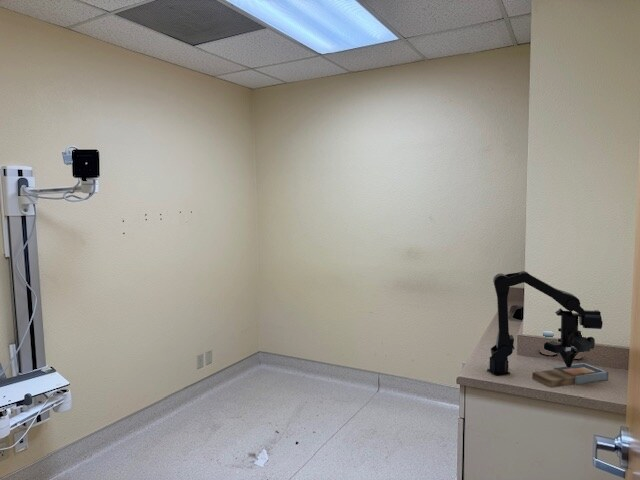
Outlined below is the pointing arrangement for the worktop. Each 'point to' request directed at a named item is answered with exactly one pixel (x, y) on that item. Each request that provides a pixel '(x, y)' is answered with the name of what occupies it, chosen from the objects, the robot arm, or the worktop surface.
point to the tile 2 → (585, 370)
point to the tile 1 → (572, 372)
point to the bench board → (553, 378)
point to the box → (587, 378)
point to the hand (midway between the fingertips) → (568, 367)
